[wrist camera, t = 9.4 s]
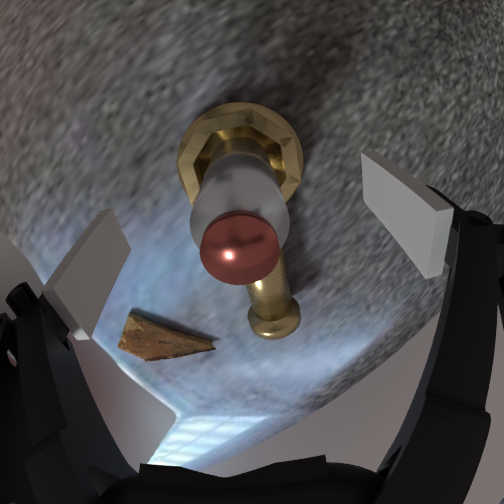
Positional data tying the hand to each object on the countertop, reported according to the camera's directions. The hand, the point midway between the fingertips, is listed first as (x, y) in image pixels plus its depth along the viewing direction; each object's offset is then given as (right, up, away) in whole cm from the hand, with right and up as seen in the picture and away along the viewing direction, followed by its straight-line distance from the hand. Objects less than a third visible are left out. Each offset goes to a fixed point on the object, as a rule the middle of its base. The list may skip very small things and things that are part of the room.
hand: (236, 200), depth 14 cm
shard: (-10, -12, +19) cm, 24 cm away
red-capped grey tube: (0, +4, +7) cm, 8 cm away
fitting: (+1, 0, +11) cm, 11 cm away
